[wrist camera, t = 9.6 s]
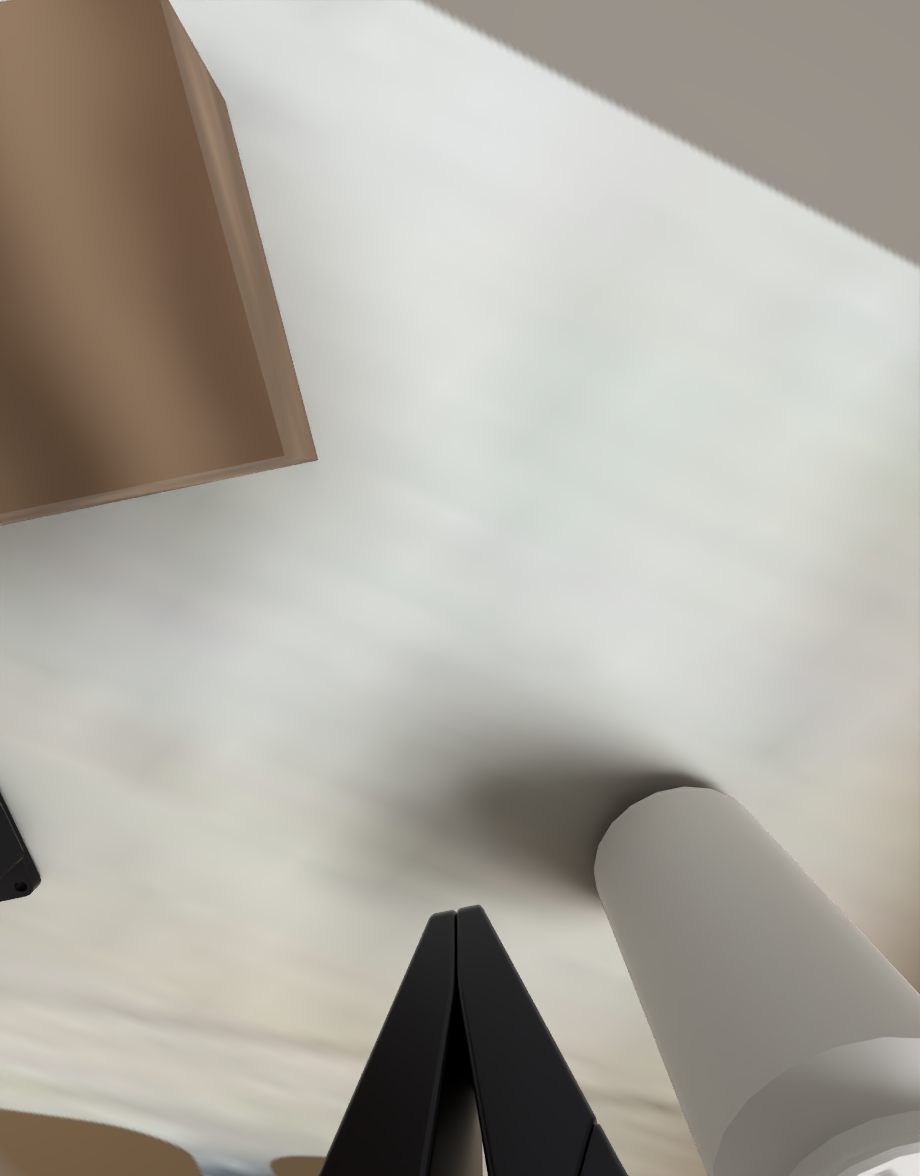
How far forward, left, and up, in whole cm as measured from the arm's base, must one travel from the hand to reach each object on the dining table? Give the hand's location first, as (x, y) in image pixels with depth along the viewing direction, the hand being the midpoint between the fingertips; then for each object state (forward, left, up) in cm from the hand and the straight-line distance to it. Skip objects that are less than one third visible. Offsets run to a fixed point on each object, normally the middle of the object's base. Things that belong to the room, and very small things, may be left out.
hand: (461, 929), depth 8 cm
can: (+8, -11, -12) cm, 18 cm away
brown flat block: (-10, +14, -12) cm, 21 cm away
